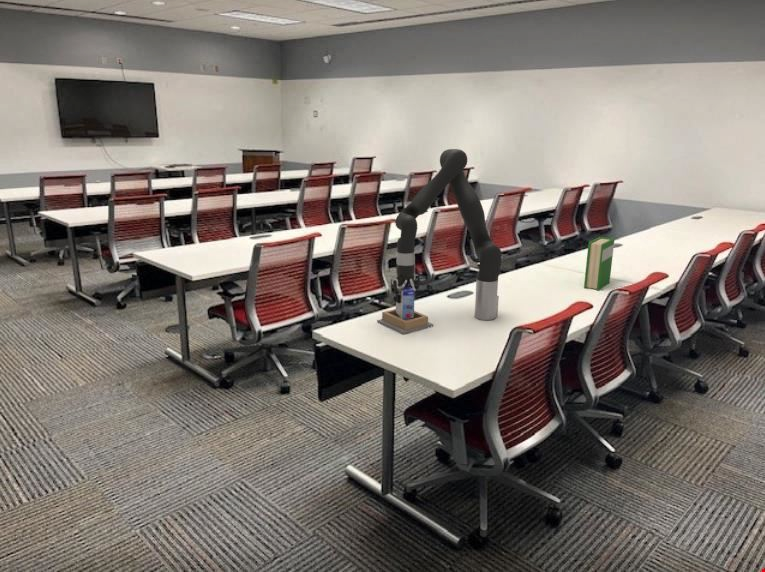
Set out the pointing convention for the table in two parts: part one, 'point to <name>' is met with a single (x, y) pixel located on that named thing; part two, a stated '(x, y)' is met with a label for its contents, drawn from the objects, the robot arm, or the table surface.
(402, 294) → the ink cartridge box
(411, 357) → the table surface
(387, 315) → the pocket holder
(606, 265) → the hardback book
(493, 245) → the robot arm
